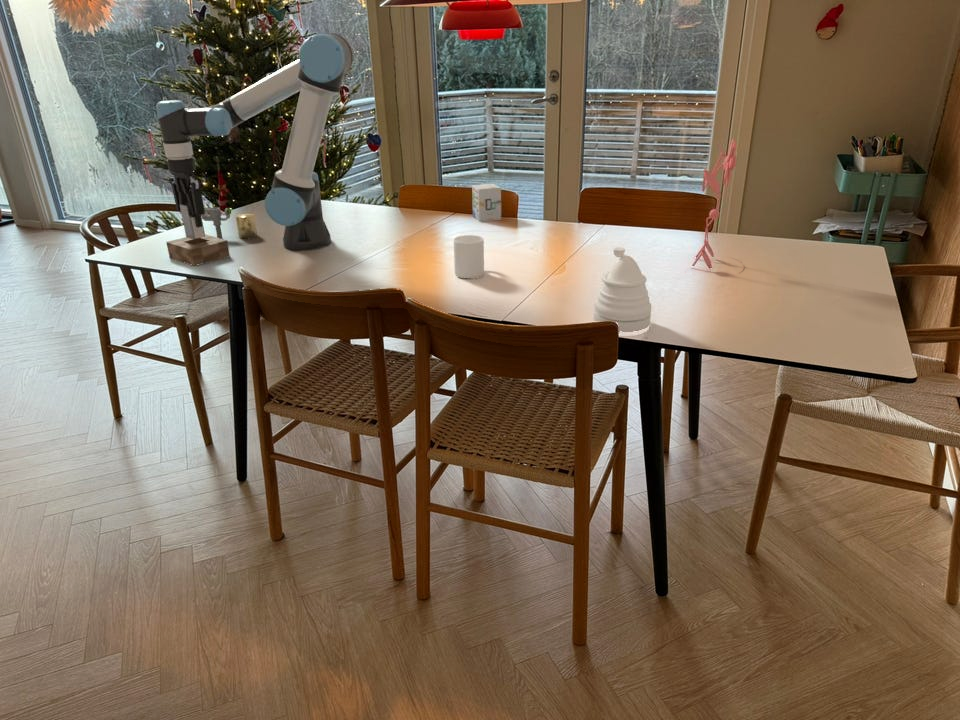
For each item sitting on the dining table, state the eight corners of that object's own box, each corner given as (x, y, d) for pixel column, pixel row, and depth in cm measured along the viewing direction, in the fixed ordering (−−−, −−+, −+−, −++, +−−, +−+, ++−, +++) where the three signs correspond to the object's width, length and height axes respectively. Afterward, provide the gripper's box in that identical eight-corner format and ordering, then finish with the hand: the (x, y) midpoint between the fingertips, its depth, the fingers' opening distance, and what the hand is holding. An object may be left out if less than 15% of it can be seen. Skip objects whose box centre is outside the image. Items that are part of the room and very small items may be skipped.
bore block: (229, 256, 215) (226, 240, 213) (194, 266, 207) (191, 249, 205) (204, 248, 223) (201, 233, 221) (169, 257, 215) (166, 241, 213)
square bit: (205, 236, 213) (199, 203, 208) (193, 239, 210) (186, 206, 206) (198, 234, 215) (191, 201, 211) (186, 237, 212) (179, 204, 208)
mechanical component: (233, 239, 233) (228, 209, 229) (203, 239, 233) (197, 209, 229) (236, 236, 236) (231, 207, 231) (206, 237, 236) (200, 207, 232)
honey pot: (583, 327, 161) (587, 252, 153) (610, 311, 170) (615, 239, 162) (633, 341, 153) (640, 262, 146) (659, 323, 163) (666, 248, 155)
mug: (470, 264, 204) (469, 230, 200) (495, 268, 200) (494, 233, 196) (449, 277, 194) (448, 241, 190) (475, 281, 191) (474, 244, 186)
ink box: (472, 216, 256) (471, 184, 250) (494, 214, 258) (494, 182, 253) (479, 222, 248) (478, 189, 243) (501, 219, 250) (501, 187, 245)
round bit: (261, 235, 236) (257, 215, 233) (245, 239, 232) (242, 219, 229) (250, 233, 240) (247, 212, 237) (235, 236, 236) (231, 216, 232)
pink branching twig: (683, 276, 191) (702, 145, 176) (694, 251, 213) (712, 131, 197) (742, 284, 186) (767, 149, 171) (747, 257, 208) (770, 135, 192)
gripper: (208, 158, 200) (222, 237, 210) (176, 152, 210) (191, 229, 220) (184, 162, 195) (199, 243, 205) (152, 156, 204) (169, 234, 215)
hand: (195, 235), depth 212 cm, fingers closed on square bit, 4 cm apart
